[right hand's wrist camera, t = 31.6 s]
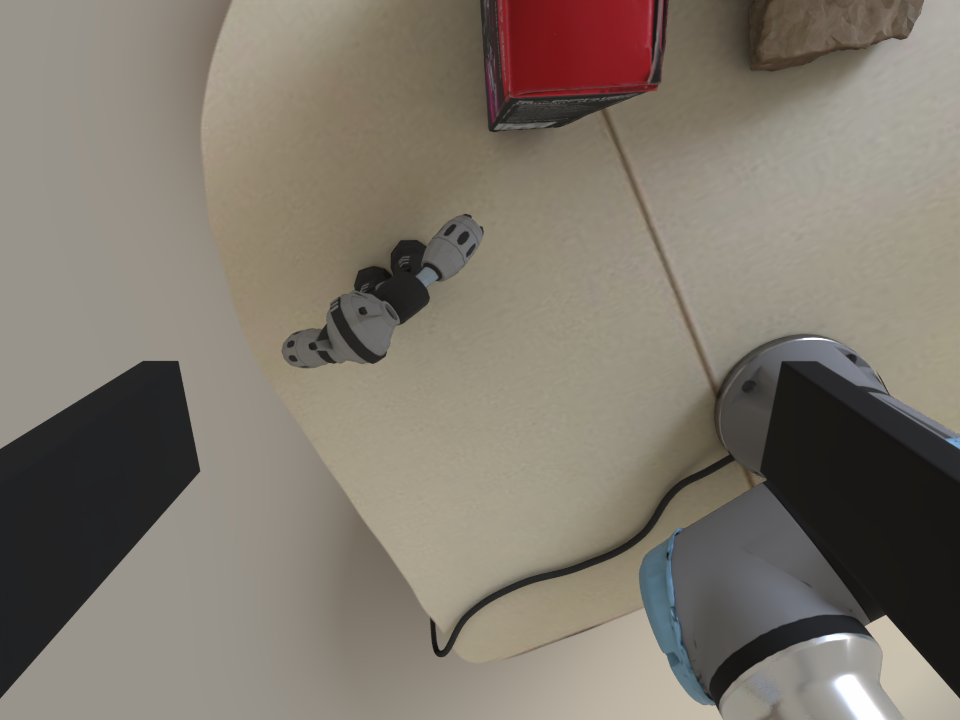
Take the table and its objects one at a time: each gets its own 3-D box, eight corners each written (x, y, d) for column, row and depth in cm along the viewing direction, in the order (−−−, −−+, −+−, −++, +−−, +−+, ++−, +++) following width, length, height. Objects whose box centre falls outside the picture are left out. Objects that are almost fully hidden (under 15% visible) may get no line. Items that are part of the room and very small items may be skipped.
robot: (331, 352, 55) (254, 456, 36) (298, 313, 53) (200, 399, 35) (496, 237, 51) (506, 286, 32) (465, 191, 50) (457, 215, 31)
